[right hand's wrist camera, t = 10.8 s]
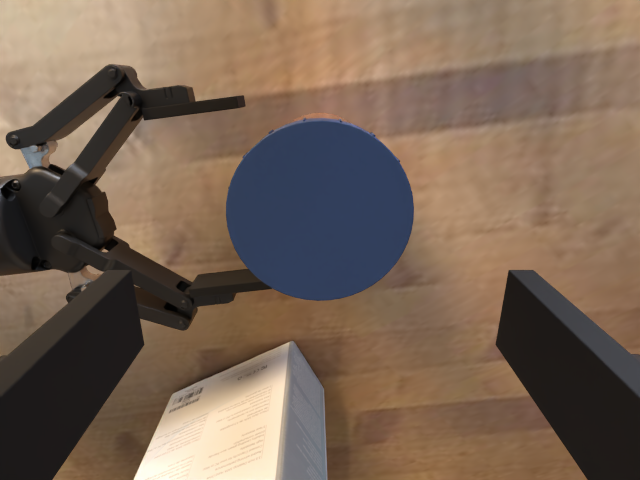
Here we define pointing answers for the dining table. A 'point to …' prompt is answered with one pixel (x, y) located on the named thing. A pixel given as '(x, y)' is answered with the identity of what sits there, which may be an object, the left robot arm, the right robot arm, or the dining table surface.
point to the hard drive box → (244, 424)
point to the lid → (319, 209)
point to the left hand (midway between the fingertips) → (259, 195)
